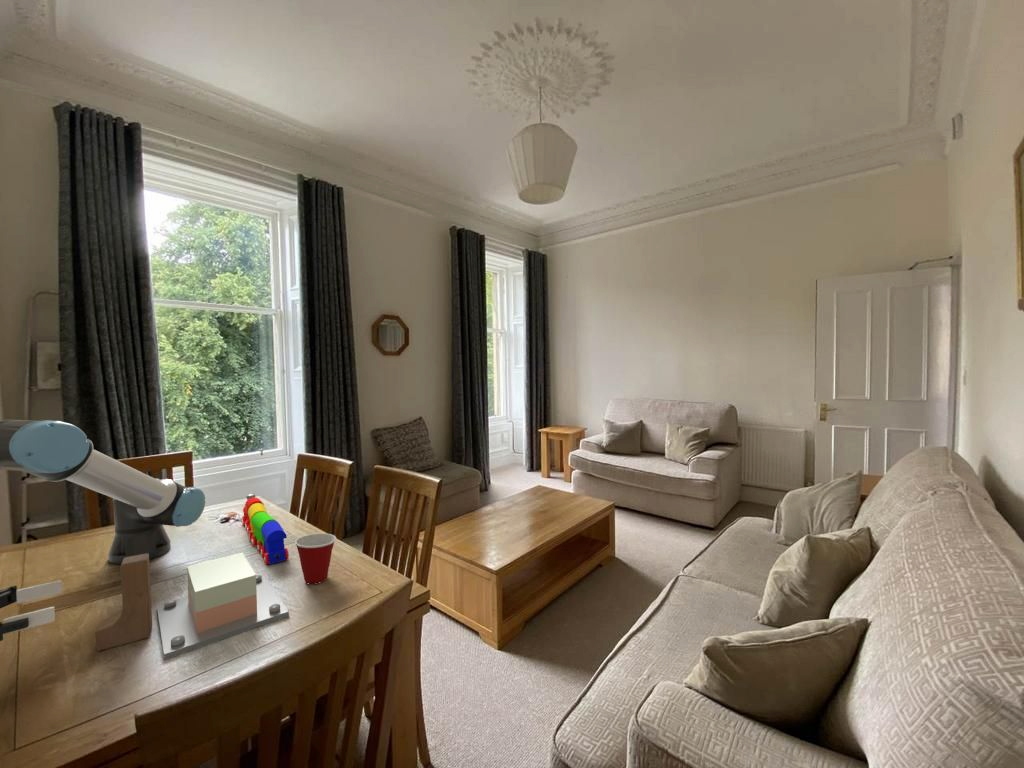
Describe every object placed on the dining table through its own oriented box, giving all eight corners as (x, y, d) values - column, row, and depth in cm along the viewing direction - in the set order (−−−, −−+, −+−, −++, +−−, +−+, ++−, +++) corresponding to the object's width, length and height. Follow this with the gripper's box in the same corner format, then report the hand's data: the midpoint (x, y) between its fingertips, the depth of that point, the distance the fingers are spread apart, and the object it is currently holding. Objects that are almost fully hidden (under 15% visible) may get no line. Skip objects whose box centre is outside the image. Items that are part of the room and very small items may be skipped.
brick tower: (157, 609, 110) (155, 567, 110) (264, 578, 126) (263, 541, 126) (164, 659, 92) (162, 609, 92) (288, 616, 108) (287, 573, 108)
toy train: (237, 524, 167) (236, 495, 166) (259, 520, 172) (258, 491, 171) (266, 568, 133) (265, 531, 132) (292, 561, 138) (291, 525, 137)
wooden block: (96, 652, 95) (91, 570, 93) (100, 641, 98) (96, 562, 97) (150, 637, 100) (146, 559, 99) (152, 627, 103) (149, 552, 102)
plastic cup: (345, 575, 129) (344, 534, 128) (314, 593, 119) (313, 549, 118) (318, 567, 133) (317, 528, 132) (286, 583, 123) (285, 541, 123)
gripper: (-89, 629, 87) (64, 592, 101) (-147, 704, 68) (51, 646, 82) (-92, 592, 87) (63, 560, 101) (-150, 657, 68) (50, 607, 82)
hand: (58, 599), depth 91 cm, fingers open, 13 cm apart
